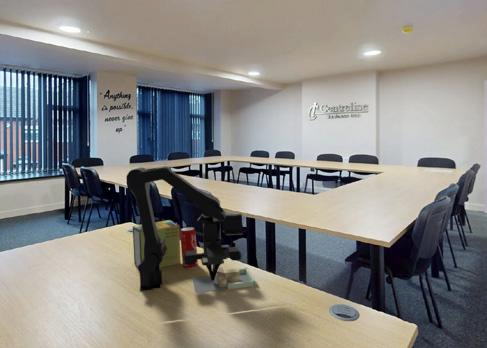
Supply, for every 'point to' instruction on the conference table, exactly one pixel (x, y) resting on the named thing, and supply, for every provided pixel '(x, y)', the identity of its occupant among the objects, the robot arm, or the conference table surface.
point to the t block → (226, 276)
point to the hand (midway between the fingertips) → (212, 280)
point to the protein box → (164, 230)
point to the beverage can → (188, 244)
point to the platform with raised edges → (245, 281)
